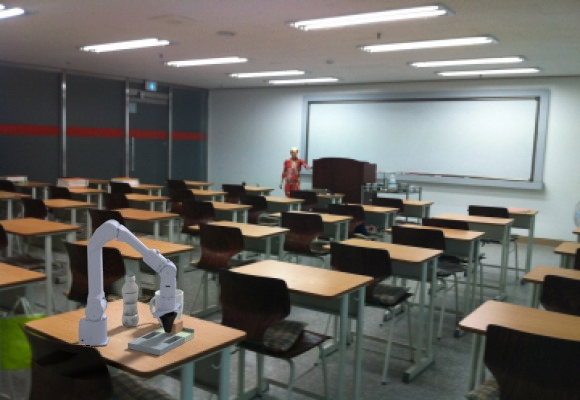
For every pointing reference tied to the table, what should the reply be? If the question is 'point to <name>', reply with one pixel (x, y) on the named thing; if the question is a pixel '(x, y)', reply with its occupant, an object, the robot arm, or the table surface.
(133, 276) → the plastic bottle
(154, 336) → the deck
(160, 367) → the table surface
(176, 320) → the block
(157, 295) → the mug
